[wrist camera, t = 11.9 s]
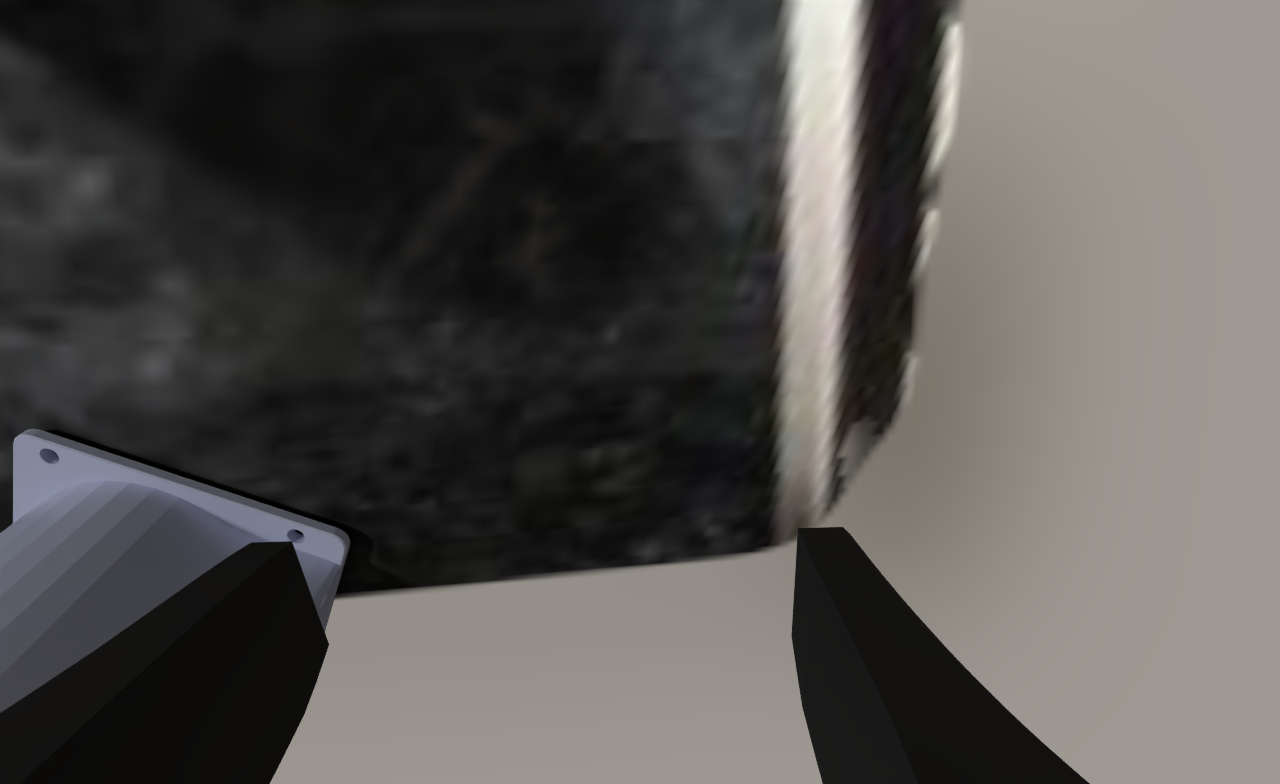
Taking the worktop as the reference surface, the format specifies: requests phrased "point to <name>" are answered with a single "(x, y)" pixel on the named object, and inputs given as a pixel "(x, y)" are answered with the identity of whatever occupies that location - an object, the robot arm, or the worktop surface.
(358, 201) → the worktop surface
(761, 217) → the worktop surface
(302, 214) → the worktop surface
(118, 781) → the robot arm
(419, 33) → the worktop surface
